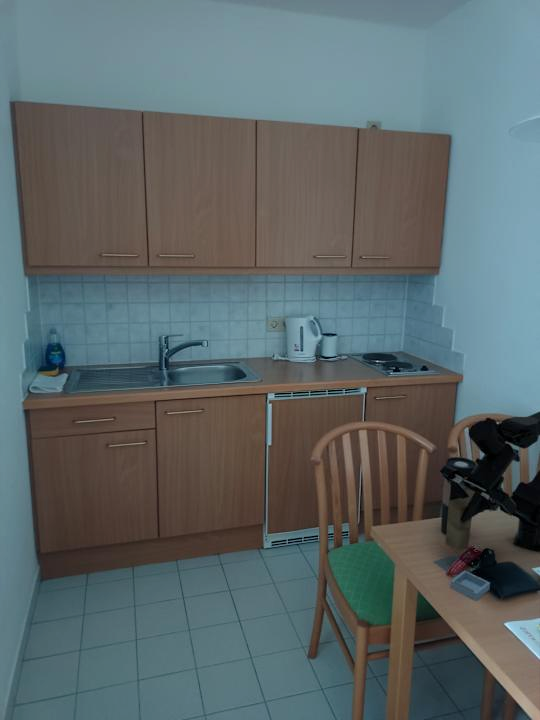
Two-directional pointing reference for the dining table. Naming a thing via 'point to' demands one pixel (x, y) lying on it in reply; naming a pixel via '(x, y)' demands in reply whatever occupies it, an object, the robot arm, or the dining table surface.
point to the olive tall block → (457, 525)
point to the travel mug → (463, 467)
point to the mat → (448, 563)
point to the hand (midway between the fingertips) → (455, 518)
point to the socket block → (470, 585)
